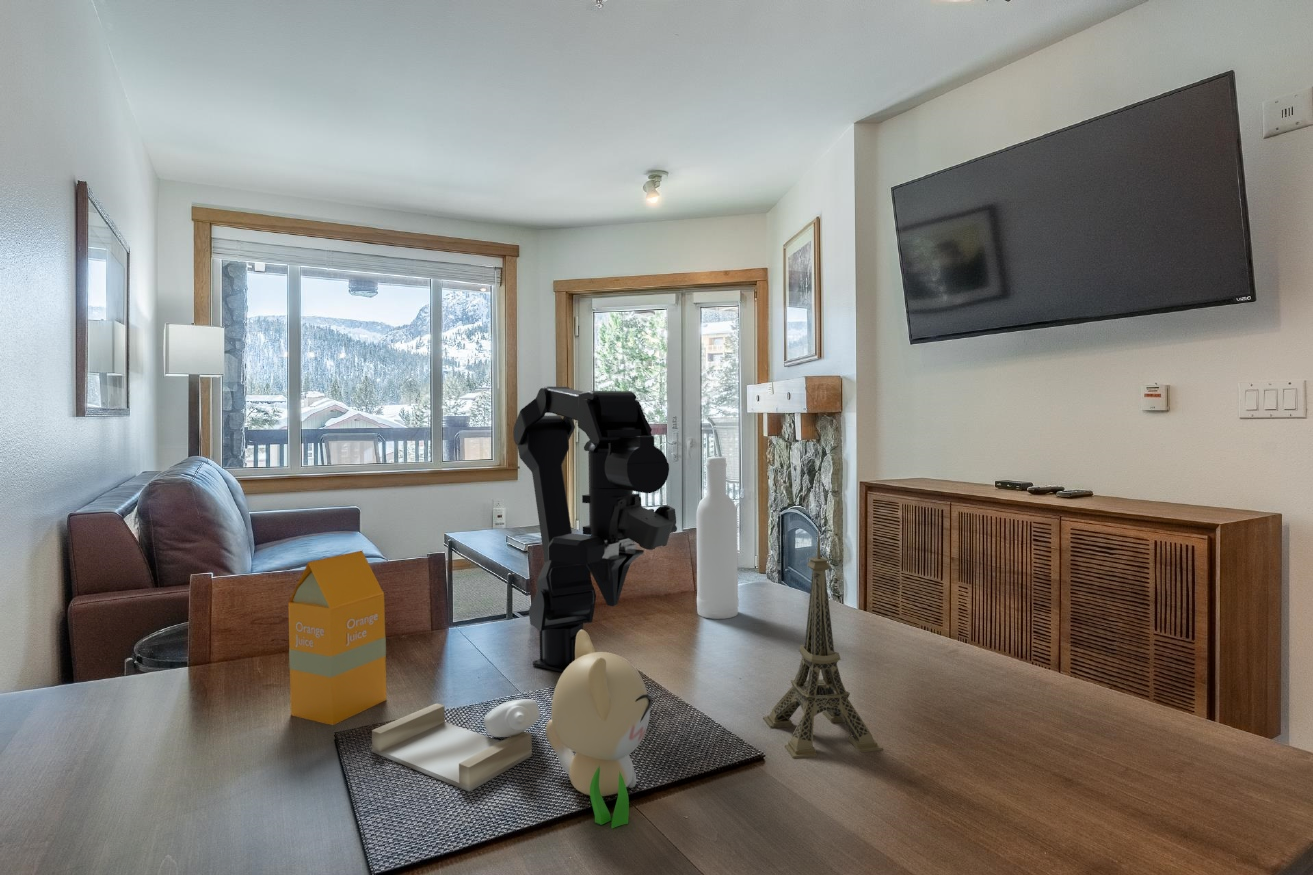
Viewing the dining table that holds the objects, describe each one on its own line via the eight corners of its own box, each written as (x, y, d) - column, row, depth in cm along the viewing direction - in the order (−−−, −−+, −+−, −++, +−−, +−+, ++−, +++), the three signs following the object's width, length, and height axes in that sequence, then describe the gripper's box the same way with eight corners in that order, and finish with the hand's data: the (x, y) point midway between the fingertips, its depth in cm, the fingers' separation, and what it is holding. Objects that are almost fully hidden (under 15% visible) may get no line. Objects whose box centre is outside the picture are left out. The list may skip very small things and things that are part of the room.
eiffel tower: (882, 750, 80) (881, 528, 79) (793, 759, 78) (791, 532, 77) (842, 712, 90) (841, 516, 89) (762, 719, 88) (761, 519, 88)
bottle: (694, 618, 132) (693, 458, 132) (699, 607, 140) (697, 456, 139) (737, 620, 131) (736, 458, 130) (739, 608, 139) (738, 456, 138)
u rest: (372, 751, 80) (371, 730, 80) (436, 723, 88) (436, 703, 88) (469, 791, 71) (468, 767, 71) (531, 755, 79) (531, 733, 79)
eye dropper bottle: (527, 739, 85) (542, 743, 74) (480, 733, 84) (489, 737, 73) (534, 701, 87) (550, 699, 76) (488, 694, 85) (498, 692, 75)
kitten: (673, 821, 66) (671, 661, 66) (566, 840, 63) (563, 673, 63) (632, 749, 80) (631, 618, 80) (544, 762, 77) (541, 626, 77)
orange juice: (387, 699, 95) (384, 552, 95) (332, 725, 87) (329, 564, 87) (345, 690, 99) (342, 548, 98) (289, 715, 91) (285, 559, 90)
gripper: (617, 497, 80) (619, 633, 81) (700, 483, 96) (701, 598, 96) (544, 492, 86) (546, 619, 87) (632, 480, 102) (634, 587, 102)
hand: (612, 605), depth 93 cm, fingers closed
